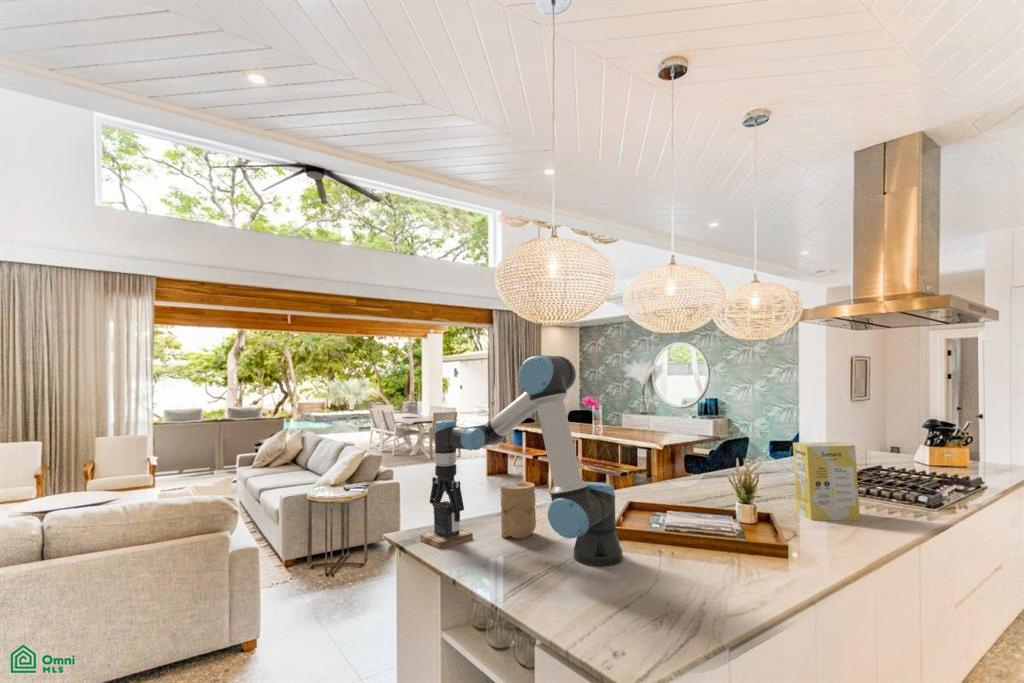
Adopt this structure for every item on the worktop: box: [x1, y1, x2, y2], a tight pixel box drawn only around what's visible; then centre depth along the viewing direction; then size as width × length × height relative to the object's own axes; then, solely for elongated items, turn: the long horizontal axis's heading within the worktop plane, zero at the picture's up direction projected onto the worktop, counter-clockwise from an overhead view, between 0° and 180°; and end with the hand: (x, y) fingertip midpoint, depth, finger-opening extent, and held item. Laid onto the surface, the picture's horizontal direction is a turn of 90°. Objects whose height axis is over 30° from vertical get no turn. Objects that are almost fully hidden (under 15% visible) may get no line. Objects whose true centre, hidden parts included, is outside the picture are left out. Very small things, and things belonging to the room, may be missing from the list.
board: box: [420, 528, 474, 550], centre depth 178 cm, size 12×14×2 cm
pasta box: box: [792, 441, 861, 521], centre depth 199 cm, size 18×10×28 cm, turn 88°
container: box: [500, 481, 537, 540], centre depth 182 cm, size 13×13×18 cm
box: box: [433, 500, 459, 538], centre depth 179 cm, size 8×6×11 cm
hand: (446, 527), depth 179 cm, fingers open, 10 cm apart
